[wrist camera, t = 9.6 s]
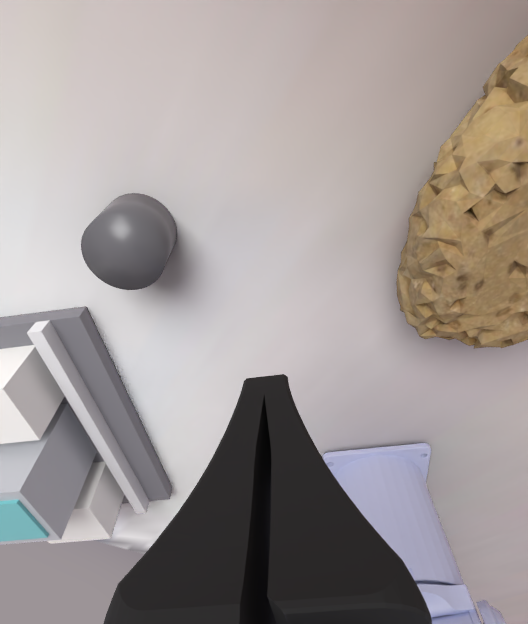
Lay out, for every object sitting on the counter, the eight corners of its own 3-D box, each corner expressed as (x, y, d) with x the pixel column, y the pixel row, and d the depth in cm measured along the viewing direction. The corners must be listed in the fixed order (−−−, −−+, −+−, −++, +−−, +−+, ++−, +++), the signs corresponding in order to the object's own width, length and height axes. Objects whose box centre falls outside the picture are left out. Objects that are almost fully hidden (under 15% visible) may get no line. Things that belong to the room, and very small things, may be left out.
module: (96, 451, 28) (59, 543, 22) (43, 457, 28) (-6, 548, 23) (67, 403, 25) (17, 494, 20) (8, 409, 25) (-56, 501, 20)
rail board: (172, 487, 32) (160, 545, 28) (45, 499, 33) (17, 556, 29) (86, 306, 22) (50, 358, 18) (-93, 329, 23) (-163, 384, 19)
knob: (185, 256, 20) (174, 284, 18) (119, 265, 21) (99, 294, 18) (165, 187, 18) (150, 209, 16) (92, 198, 19) (67, 221, 16)
